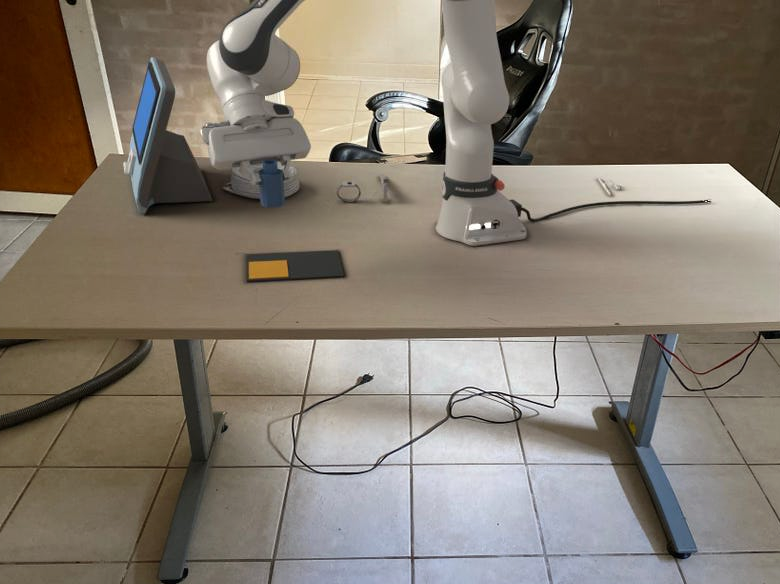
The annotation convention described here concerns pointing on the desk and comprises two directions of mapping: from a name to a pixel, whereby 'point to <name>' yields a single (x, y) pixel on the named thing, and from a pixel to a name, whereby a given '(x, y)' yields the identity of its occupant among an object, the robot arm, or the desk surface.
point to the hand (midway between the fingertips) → (272, 181)
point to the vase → (271, 185)
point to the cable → (245, 187)
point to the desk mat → (293, 266)
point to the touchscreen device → (161, 148)
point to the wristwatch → (348, 184)
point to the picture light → (606, 187)
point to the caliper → (384, 187)
